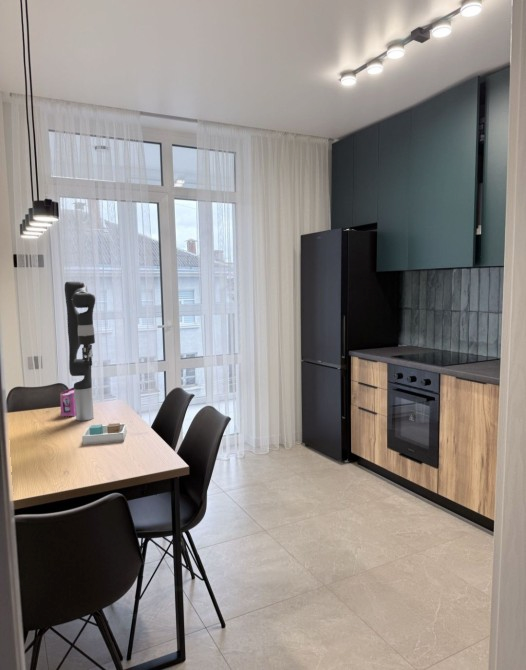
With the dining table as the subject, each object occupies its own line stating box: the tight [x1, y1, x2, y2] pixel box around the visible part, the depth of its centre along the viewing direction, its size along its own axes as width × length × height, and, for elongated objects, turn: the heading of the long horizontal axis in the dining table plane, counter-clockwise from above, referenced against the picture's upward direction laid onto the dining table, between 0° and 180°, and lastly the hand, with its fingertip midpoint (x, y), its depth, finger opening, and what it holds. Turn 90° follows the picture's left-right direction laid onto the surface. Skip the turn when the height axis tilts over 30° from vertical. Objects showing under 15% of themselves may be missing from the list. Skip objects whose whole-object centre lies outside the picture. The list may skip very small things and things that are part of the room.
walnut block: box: [107, 422, 121, 434], centre depth 223 cm, size 5×5×5 cm
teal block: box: [89, 424, 103, 435], centre depth 222 cm, size 5×5×5 cm
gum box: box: [59, 386, 76, 417], centre depth 276 cm, size 24×8×14 cm, turn 178°
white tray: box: [81, 423, 128, 446], centre depth 223 cm, size 16×18×4 cm
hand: (88, 367), depth 231 cm, fingers open, 8 cm apart
